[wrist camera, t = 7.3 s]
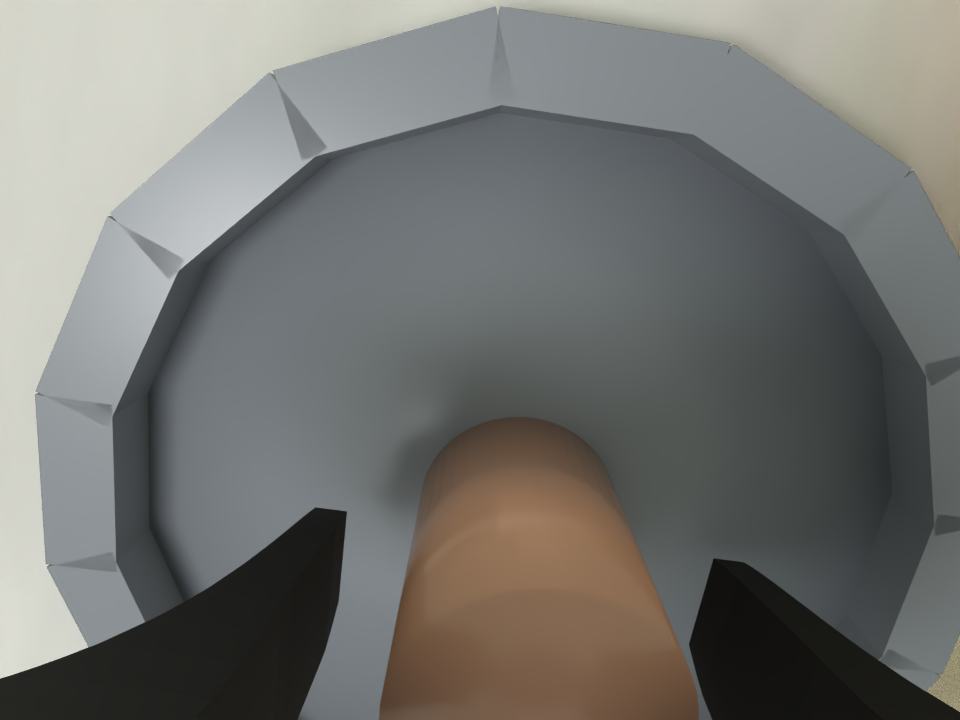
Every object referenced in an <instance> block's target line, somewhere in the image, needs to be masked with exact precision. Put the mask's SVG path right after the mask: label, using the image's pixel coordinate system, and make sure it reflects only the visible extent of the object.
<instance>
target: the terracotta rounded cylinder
mask: <svg viewBox="0 0 960 720" xmlns="http://www.w3.org/2000/svg"><path fill="white" fill-rule="evenodd" d="M698 719H699V705H698V696H697V691H696V687H695V683H694V680H693V676H692V674H691V672H690V669H689V667H688V664H687V662H686V660H685V657H684V655H683V652H682V650H681V648H680V645H679V643H678V640H677V638H676V636H675V633H674V631H673V628H672V626H671V624H670V621H669V619H668V616H667V614H666V611H665V609H664V607H663V604H662V602H661V599H660V597H659V595H658V592H657V590H656V587H655V585H654V583H653V580H652V578H651V575H650V573H649V571H648V568H647V566H646V563H645V561H644V559H643V556H642V554H641V551H640V549H639V547H638V544H637V542H636V539H635V537H634V534H633V532H632V530H631V527H630V525H629V522H628V520H627V518H626V515H625V513H624V510H623V508H622V506H621V503H620V501H619V498H618V496H617V494H616V491H615V489H614V486H613V484H612V482H611V479H610V477H609V474H608V472H607V470H606V468H605V466H604V464H603V462H602V461H601V459H600V458H599V456H598V455H597V453H596V452H595V451H594V450H593V449H592V448H591V446H590V445H589V444H587V443H586V442H585V441H584V440H583V439H582V438H581V437H579V436H578V435H576V434H575V433H573V432H572V431H570V430H568V429H566V428H564V427H562V426H560V425H558V424H555V423H552V422H549V421H546V420H541V419H536V418H527V417H508V418H501V419H495V420H491V421H488V422H484V423H481V424H479V425H477V426H474V427H472V428H470V429H468V430H466V431H465V432H463V433H461V434H460V435H458V436H457V437H456V438H454V439H453V440H452V441H451V442H449V443H448V444H447V445H446V446H445V447H444V448H443V449H442V450H441V451H440V452H439V454H438V455H437V457H436V458H435V459H434V461H433V462H432V464H431V466H430V468H429V470H428V472H427V474H426V477H425V479H424V482H423V486H422V491H421V496H420V501H419V506H418V512H417V517H416V522H415V527H414V532H413V537H412V542H411V547H410V553H409V558H408V563H407V568H406V573H405V578H404V583H403V589H402V594H401V599H400V604H399V609H398V614H397V619H396V624H395V630H394V635H393V640H392V645H391V650H390V655H389V660H388V666H387V671H386V676H385V681H384V686H383V691H382V696H381V702H380V711H379V720H698Z"/></svg>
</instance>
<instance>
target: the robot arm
mask: <svg viewBox="0 0 960 720" xmlns="http://www.w3.org/2000/svg"><path fill="white" fill-rule="evenodd" d="M346 518H347V511H340V510H333V509H325V508H317V507H315V508H314V509H312V510H311V511H310V512H308V513H307V514H306V515H305V516H303V517H302V518H301V519H300V520H299V521H297V522H296V523H295V524H294V525H293V526H291V527H290V528H289V529H288V530H286V531H285V532H284V533H283V534H282V535H280V536H279V537H278V538H277V539H275V540H274V541H273V542H272V543H270V544H269V545H268V546H266V547H265V548H264V549H262V550H261V551H260V552H258V553H257V554H256V555H255V556H253V557H252V558H251V559H249V560H248V561H247V562H245V563H244V564H242V565H241V566H240V567H238V568H237V569H235V570H234V571H232V572H231V573H229V574H228V575H226V576H225V577H223V578H222V579H221V580H219V581H218V582H216V583H215V584H213V585H212V586H210V587H209V588H207V589H205V590H204V591H202V592H200V593H199V594H197V595H195V596H194V597H192V598H190V599H188V600H187V601H185V602H183V603H181V604H179V605H177V606H176V607H174V608H172V609H170V610H168V611H167V612H165V613H163V614H161V615H159V616H157V617H155V618H153V619H151V620H149V621H146V622H144V623H142V624H140V625H138V626H136V627H133V628H131V629H129V630H127V631H125V632H123V633H120V634H118V635H116V636H114V637H112V638H110V639H107V640H105V641H103V642H101V643H98V644H96V645H94V646H91V647H88V648H86V649H83V650H81V651H78V652H76V653H73V654H71V655H68V656H66V657H63V658H60V659H57V660H55V661H52V662H49V663H46V664H43V665H41V666H38V667H35V668H32V669H29V670H26V671H23V672H20V673H17V674H14V675H11V676H8V677H4V678H1V679H0V720H298V717H299V715H300V712H301V710H302V707H303V705H304V703H305V700H306V698H307V695H308V693H309V690H310V688H311V685H312V683H313V680H314V678H315V675H316V673H317V670H318V668H319V665H320V663H321V660H322V658H323V655H324V653H325V650H326V646H327V643H328V639H329V636H330V632H331V629H332V625H333V621H334V617H335V614H336V610H337V606H338V602H339V593H340V583H341V572H342V561H343V550H344V539H345V529H346ZM689 647H690V651H691V655H692V659H693V663H694V667H695V671H696V675H697V678H698V682H699V685H700V689H701V692H702V696H703V698H704V701H705V703H706V706H707V708H708V711H709V713H710V716H711V718H712V720H960V712H959V711H957V710H955V709H954V708H952V707H950V706H949V705H947V704H946V703H944V702H942V701H941V700H939V699H937V698H936V697H934V696H933V695H931V694H929V693H928V692H926V691H924V690H923V689H921V688H919V687H918V686H916V685H915V684H913V683H912V682H910V681H909V680H907V679H906V678H904V677H902V676H901V675H899V674H898V673H896V672H895V671H894V670H892V669H891V668H889V667H888V666H886V665H885V664H883V663H882V662H881V661H879V660H878V659H876V658H875V657H873V656H872V655H870V654H869V653H868V652H866V651H865V650H863V649H862V648H860V647H859V646H858V645H856V644H855V643H854V642H852V641H851V640H849V639H848V638H847V637H845V636H844V635H843V634H841V633H840V632H838V631H837V630H836V629H834V628H833V627H832V626H830V625H829V624H828V623H826V622H825V621H824V620H822V619H821V618H820V617H818V616H817V615H816V614H815V613H813V612H812V611H811V610H809V609H808V608H807V607H805V606H804V605H803V604H801V603H800V602H799V601H798V600H796V599H795V598H794V597H792V596H791V595H790V594H788V593H787V592H786V591H784V590H783V589H782V588H780V587H779V586H778V585H776V584H775V583H774V582H772V581H771V580H770V579H768V578H767V577H766V576H764V575H763V574H761V573H760V572H759V571H757V570H756V569H754V568H753V567H751V566H749V565H748V564H746V563H744V562H739V561H731V560H723V559H715V558H713V562H712V565H711V569H710V572H709V576H708V579H707V583H706V586H705V590H704V593H703V597H702V600H701V604H700V607H699V611H698V614H697V618H696V621H695V624H694V628H693V631H692V635H691V638H690V642H689Z"/></svg>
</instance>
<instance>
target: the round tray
mask: <svg viewBox="0 0 960 720" xmlns="http://www.w3.org/2000/svg"><path fill="white" fill-rule="evenodd" d="M729 45H730V43H728V42H721V41H715V40H709V39H703V38H696V37H690V36H684V35H677V34H671V33H665V32H659V31H652V30H646V29H640V28H633V27H627V26H621V25H615V24H608V23H602V22H596V21H589V20H583V19H577V18H571V17H564V16H558V15H552V14H545V13H539V12H533V11H527V10H520V9H514V8H508V7H501V6H500V11H499V18H498V15H497V11H496V7H492V8H489V9H485V10H482V11H478V12H475V13H471V14H468V15H464V16H461V17H457V18H454V19H450V20H447V21H444V22H440V23H437V24H433V25H430V26H426V27H423V28H419V29H416V30H412V31H409V32H405V33H402V34H398V35H395V36H391V37H388V38H384V39H381V40H377V41H374V42H370V43H367V44H363V45H360V46H357V47H353V48H350V49H346V50H343V51H339V52H336V53H332V54H329V55H325V56H322V57H318V58H315V59H311V60H308V61H304V62H301V63H297V64H294V65H290V66H287V67H283V68H280V69H276V70H273V72H274V75H273V74H271V73H268V74H267V75H266V76H265V77H264V78H262V79H261V80H260V81H259V82H258V83H257V84H256V85H255V86H253V87H252V88H251V89H250V90H249V91H248V92H247V93H245V94H244V95H243V96H242V97H241V98H240V99H239V100H238V101H236V102H235V103H234V104H233V105H232V106H231V107H230V108H228V109H227V110H226V111H225V112H224V113H223V114H222V115H221V116H219V117H218V118H217V119H216V120H215V121H214V122H213V123H211V124H210V125H209V126H208V127H207V128H206V129H205V130H204V131H202V132H201V133H200V134H199V135H198V136H197V137H196V138H194V139H193V140H192V141H191V142H190V143H189V144H188V145H187V146H185V147H184V148H183V149H182V150H181V151H180V152H179V153H177V154H176V155H175V156H174V157H173V158H172V159H171V160H170V161H168V162H167V163H166V164H165V165H164V166H163V167H162V168H160V169H159V170H158V171H157V172H156V173H155V174H154V175H153V176H151V177H150V178H149V179H148V180H147V181H146V182H145V183H143V184H142V185H141V186H140V187H139V188H138V189H137V190H136V191H134V192H133V193H132V194H131V195H130V196H129V197H128V198H126V199H125V200H124V201H123V202H122V203H121V204H120V205H119V206H117V207H116V208H115V209H114V210H113V211H112V212H111V213H110V214H111V216H109V217H107V219H106V221H105V223H104V226H103V228H102V231H101V233H100V236H99V238H98V241H97V243H96V245H95V248H94V250H93V253H92V255H91V258H90V260H89V262H88V265H87V267H86V270H85V272H84V275H83V277H82V279H81V282H80V284H79V287H78V289H77V292H76V294H75V296H74V299H73V301H72V304H71V306H70V309H69V311H68V313H67V316H66V318H65V321H64V323H63V326H62V328H61V330H60V333H59V335H58V338H57V340H56V343H55V345H54V348H53V350H52V352H51V355H50V357H49V360H48V362H47V365H46V367H45V369H44V372H43V374H42V377H41V379H40V382H39V384H38V386H37V389H36V392H38V393H37V394H35V402H36V418H37V433H38V449H39V465H40V480H41V496H42V511H43V527H44V543H45V558H46V564H50V565H49V566H47V569H48V570H49V572H50V574H51V576H52V578H53V580H54V582H55V584H56V586H57V588H58V590H59V591H60V593H61V595H62V597H63V599H64V601H65V603H66V605H67V607H68V609H69V611H70V612H71V614H72V616H73V618H74V620H75V622H76V624H77V626H78V628H79V630H80V632H81V633H82V635H83V637H84V639H85V641H86V643H87V645H88V647H91V646H94V645H96V644H98V643H101V642H103V641H105V640H107V639H110V638H112V637H114V636H116V635H118V634H120V633H123V632H125V631H127V630H129V629H131V628H133V627H136V626H138V625H140V624H142V623H144V622H146V621H149V620H151V619H153V618H155V617H157V616H159V615H161V614H163V613H165V612H167V611H168V610H170V609H172V608H174V607H176V606H177V605H179V604H181V603H183V602H185V601H187V600H188V599H190V598H192V597H194V596H195V595H197V594H199V593H200V592H202V591H204V590H205V589H207V588H209V587H210V586H212V585H213V584H215V583H216V582H218V581H219V580H221V579H222V578H223V577H225V576H226V575H228V574H229V573H231V572H232V571H234V570H235V569H237V568H238V567H240V566H241V565H242V564H244V563H245V562H247V561H248V560H249V559H251V558H252V557H253V556H255V555H256V554H257V553H258V552H260V551H261V550H262V549H264V548H265V547H266V546H268V545H269V544H270V543H272V542H273V541H274V540H275V539H277V538H278V537H279V536H280V535H282V534H283V533H284V532H285V531H286V530H288V529H289V528H290V527H291V526H293V525H294V524H295V523H296V522H297V521H299V520H300V519H301V518H302V517H303V516H305V515H306V514H307V513H308V512H310V511H311V510H312V509H314V508H315V507H317V508H325V509H333V510H340V511H347V518H346V529H345V539H344V550H343V561H342V572H341V583H340V593H339V602H338V606H337V610H336V614H335V617H334V621H333V625H332V629H331V632H330V636H329V639H328V643H327V646H326V650H325V653H324V655H323V658H322V660H321V663H320V665H319V668H318V670H317V673H316V675H315V678H314V680H313V683H312V685H311V688H310V690H309V693H308V695H307V698H306V700H305V703H304V705H303V707H302V710H301V712H300V715H299V717H298V720H379V711H380V702H381V696H382V691H383V686H384V681H385V676H386V671H387V666H388V660H389V655H390V650H391V645H392V640H393V635H394V630H395V624H396V619H397V614H398V609H399V604H400V599H401V594H402V589H403V583H404V578H405V573H406V568H407V563H408V558H409V553H410V547H411V542H412V537H413V532H414V527H415V522H416V517H417V512H418V506H419V501H420V496H421V491H422V486H423V482H424V479H425V477H426V474H427V472H428V470H429V468H430V466H431V464H432V462H433V461H434V459H435V458H436V457H437V455H438V454H439V452H440V451H441V450H442V449H443V448H444V447H445V446H446V445H447V444H448V443H449V442H451V441H452V440H453V439H454V438H456V437H457V436H458V435H460V434H461V433H463V432H465V431H466V430H468V429H470V428H472V427H474V426H477V425H479V424H481V423H484V422H488V421H491V420H495V419H501V418H508V417H527V418H536V419H541V420H546V421H549V422H552V423H555V424H558V425H560V426H562V427H564V428H566V429H568V430H570V431H572V432H573V433H575V434H576V435H578V436H579V437H581V438H582V439H583V440H584V441H585V442H586V443H587V444H589V445H590V446H591V448H592V449H593V450H594V451H595V452H596V453H597V455H598V456H599V458H600V459H601V461H602V462H603V464H604V466H605V468H606V470H607V472H608V474H609V477H610V479H611V482H612V484H613V486H614V489H615V491H616V494H617V496H618V498H619V501H620V503H621V506H622V508H623V510H624V513H625V515H626V518H627V520H628V522H629V525H630V527H631V530H632V532H633V534H634V537H635V539H636V542H637V544H638V547H639V549H640V551H641V554H642V556H643V559H644V561H645V563H646V566H647V568H648V571H649V573H650V575H651V578H652V580H653V583H654V585H655V587H656V590H657V592H658V595H659V597H660V599H661V602H662V604H663V607H664V609H665V611H666V614H667V616H668V619H669V621H670V624H671V626H672V628H673V631H674V633H675V636H676V638H677V640H678V643H679V645H680V648H681V650H682V652H683V655H684V657H685V660H686V662H687V664H688V667H689V669H690V672H691V674H692V676H693V680H694V683H695V687H696V691H697V696H698V705H699V719H698V720H712V718H711V716H710V713H709V711H708V708H707V706H706V703H705V701H704V698H703V696H702V692H701V689H700V685H699V682H698V678H697V675H696V671H695V667H694V663H693V659H692V655H691V651H690V647H689V642H690V638H691V635H692V631H693V628H694V624H695V621H696V618H697V614H698V611H699V607H700V604H701V600H702V597H703V593H704V590H705V586H706V583H707V579H708V576H709V572H710V569H711V565H712V562H713V558H715V559H723V560H731V561H739V562H744V563H746V564H748V565H749V566H751V567H753V568H754V569H756V570H757V571H759V572H760V573H761V574H763V575H764V576H766V577H767V578H768V579H770V580H771V581H772V582H774V583H775V584H776V585H778V586H779V587H780V588H782V589H783V590H784V591H786V592H787V593H788V594H790V595H791V596H792V597H794V598H795V599H796V600H798V601H799V602H800V603H801V604H803V605H804V606H805V607H807V608H808V609H809V610H811V611H812V612H813V613H815V614H816V615H817V616H818V617H820V618H821V619H822V620H824V621H825V622H826V623H828V624H829V625H830V626H832V627H833V628H834V629H836V630H837V631H838V632H840V633H841V634H843V635H844V636H845V637H847V638H848V639H849V640H851V641H852V642H854V643H855V644H856V645H858V646H859V647H860V648H862V649H863V650H865V651H866V652H868V653H869V654H870V655H872V656H873V657H875V658H876V659H878V660H879V661H881V662H882V663H883V664H885V665H886V666H888V667H889V668H891V669H892V670H894V671H895V672H896V673H898V674H899V675H901V676H902V677H904V678H906V679H907V680H909V681H910V682H912V683H913V684H915V685H916V686H918V687H919V688H921V689H923V690H924V691H927V690H928V689H929V688H930V687H931V686H932V685H933V684H934V683H935V682H936V681H937V680H938V679H939V678H940V676H939V674H943V671H944V669H945V667H946V665H947V662H948V660H949V658H950V655H951V653H952V651H953V648H954V646H955V644H956V642H957V639H958V637H959V635H960V257H959V255H958V253H957V252H956V250H955V248H954V246H953V244H952V242H951V240H950V238H949V236H948V235H947V233H946V231H945V229H944V227H943V225H942V223H941V221H940V220H939V218H938V216H937V214H936V212H935V210H934V208H933V206H932V204H931V203H930V201H929V199H928V197H927V195H926V193H925V191H924V189H923V187H922V186H921V184H920V182H919V180H918V178H917V176H916V174H915V172H914V171H910V169H911V168H910V167H909V166H907V165H906V164H904V163H903V162H902V161H900V160H899V159H897V158H896V157H894V156H893V155H892V154H890V153H889V152H887V151H886V150H884V149H883V148H881V147H880V146H879V145H877V144H876V143H874V142H873V141H871V140H870V139H869V138H867V137H866V136H864V135H863V134H861V133H860V132H859V131H857V130H856V129H854V128H853V127H851V126H850V125H849V124H847V123H846V122H844V121H843V120H841V119H840V118H839V117H837V116H836V115H834V114H833V113H831V112H830V111H829V110H827V109H826V108H824V107H823V106H821V105H820V104H819V103H817V102H816V101H814V100H813V99H811V98H810V97H809V96H807V95H806V94H804V93H803V92H801V91H800V90H798V89H797V88H796V87H794V86H793V85H791V84H790V83H788V82H787V81H786V80H784V79H783V78H781V77H780V76H778V75H777V74H776V73H774V72H773V71H771V70H770V69H768V68H767V67H766V66H764V65H763V64H761V63H760V62H758V61H757V60H756V59H754V58H753V57H751V56H750V55H748V54H747V53H746V52H744V51H743V50H741V49H740V48H738V47H737V46H736V45H732V46H730V47H729Z"/></svg>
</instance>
